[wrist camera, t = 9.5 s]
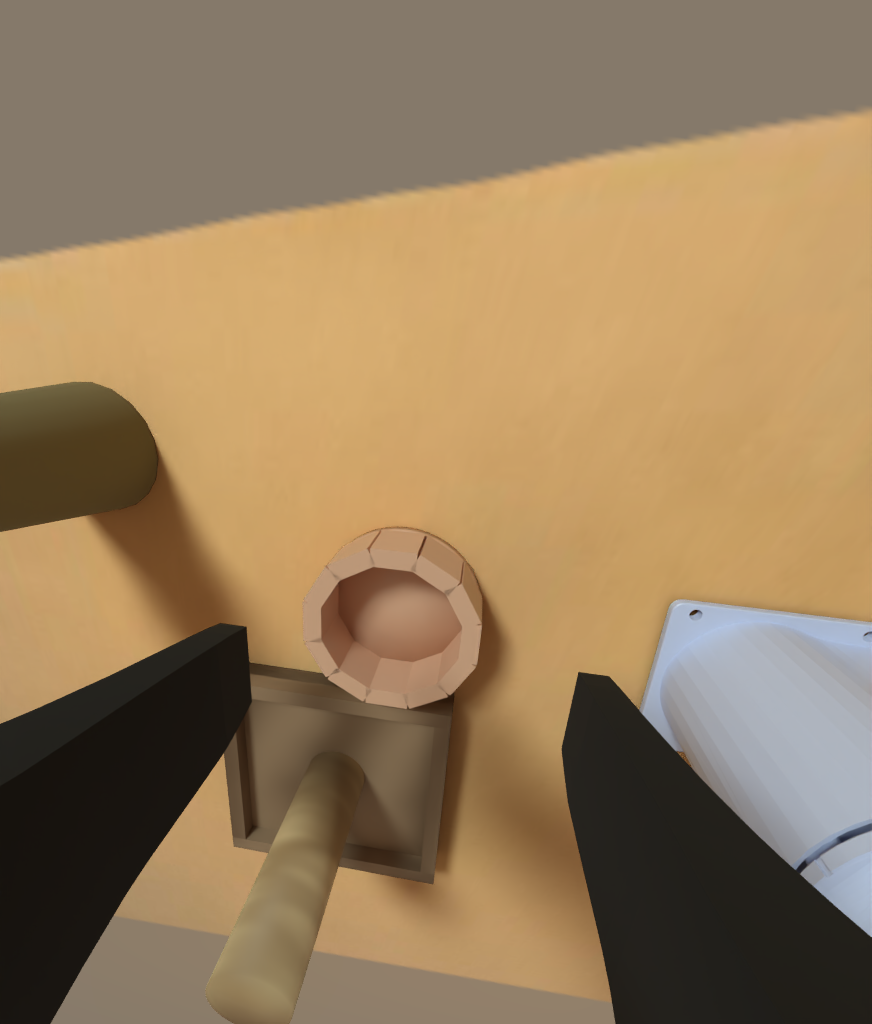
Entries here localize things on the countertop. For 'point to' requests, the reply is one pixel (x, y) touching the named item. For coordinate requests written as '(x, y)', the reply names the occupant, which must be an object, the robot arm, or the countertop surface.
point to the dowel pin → (288, 899)
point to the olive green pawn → (71, 454)
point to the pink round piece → (395, 618)
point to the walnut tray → (362, 736)
